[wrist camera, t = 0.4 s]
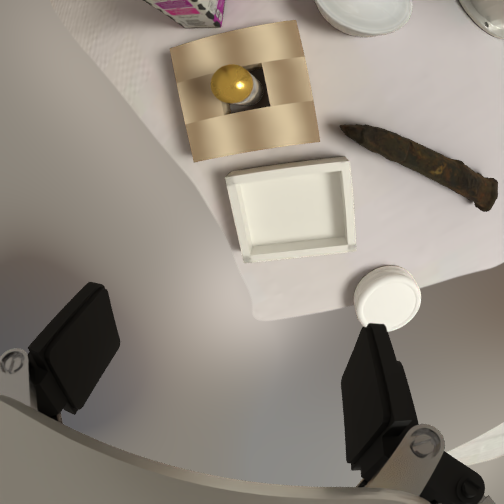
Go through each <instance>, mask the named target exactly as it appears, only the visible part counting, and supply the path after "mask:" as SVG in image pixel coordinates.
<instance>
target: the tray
mask: <svg viewBox="0 0 504 504" xmlns="http://www.w3.org/2000/svg"><path fill="white" fill-rule="evenodd" d="M225 180H226V185H227V190H228V194H229V199H230V203H231V208H232V212H233V217H234V221H235V226H236V230H237V235H238V239H239V244H240V248H241V253H242V257H243V261H244V263H253V262H262V261H272V260H282V259H291V258H300V257H310V256H319V255H328V254H337V253H346V252H355V251H356V232H355V215H354V201H353V189H352V178H351V168H350V161H349V160H348V159H347V158H346V157H345V156H344V157H333V158H324V159H315V160H307V161H299V162H291V163H283V164H276V165H269V166H263V167H256V168H250V169H244V170H238V171H232V172H230V173H229V174H228V175H227V176H226V177H225Z"/></svg>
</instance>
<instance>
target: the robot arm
mask: <svg viewBox="0 0 504 504" xmlns="http://www.w3.org/2000/svg"><path fill="white" fill-rule="evenodd" d="M459 2H460V3H461V5H462V7H463V8H464V10H465V11H466V12H467V14H468V15H469V16H470V17H471V18H472V20H473V21H474V22H475V23H476V24H477V25H478V26H479V27H480V28H482V29H483V30H484V31H486V32H487V33H489V34H490V35H492V36H494V37H496V38H499V39H504V0H459ZM119 346H120V338H119V335H118V331H117V327H116V324H115V320H114V316H113V312H112V308H111V304H110V299H109V295H108V291H107V290H106V289H105V287H104V286H103V285H102V284H98V283H93V282H89V283H87V284H86V285H85V286H84V287H83V288H82V289H81V290H80V291H79V292H78V293H77V294H76V295H75V296H74V297H73V299H71V301H70V302H69V303H68V304H67V305H66V306H65V307H64V308H63V309H62V310H61V311H60V312H59V313H58V314H57V315H56V317H55V318H54V319H53V320H52V321H51V322H50V323H49V324H48V325H47V326H46V327H45V329H44V330H43V331H42V332H41V333H40V334H39V335H38V336H37V338H36V339H35V340H34V341H33V342H32V343H31V344H30V346H29V347H28V349H29V351H30V352H29V354H28V355H27V353H26V352H25V351H24V350H22V349H19V348H16V349H11V350H8V351H6V352H5V353H4V354H3V355H2V356H1V357H0V504H495V503H494V501H493V500H492V499H491V498H490V496H489V495H488V496H487V497H485V496H484V491H485V485H484V481H483V479H482V477H481V476H480V475H479V474H478V473H476V472H475V471H473V470H472V469H470V468H469V467H467V466H466V465H464V464H463V463H461V462H460V461H458V460H457V459H455V458H454V457H452V456H451V455H449V454H448V453H446V452H445V451H444V449H445V441H444V438H443V435H442V434H441V433H440V431H439V430H437V429H436V428H435V427H433V426H430V425H427V424H420V425H419V424H418V420H417V416H416V412H415V408H414V404H413V400H412V397H411V393H410V389H409V386H408V382H407V379H406V375H405V372H404V369H403V366H402V364H401V362H400V361H397V360H396V357H395V354H394V350H393V347H392V344H391V341H390V338H389V335H388V332H387V328H386V326H385V325H384V324H376V323H369V324H368V325H367V327H363V328H362V329H361V332H360V334H359V337H358V340H357V342H356V345H355V347H354V350H353V352H352V355H351V357H350V360H349V362H348V364H347V367H346V369H345V371H344V374H343V376H342V380H341V389H342V400H343V412H344V426H345V441H346V460H347V463H351V470H361V477H362V478H363V479H362V480H361V481H360V483H359V484H358V485H357V486H356V487H307V486H290V485H277V484H266V483H257V482H250V481H243V480H236V479H230V478H224V477H218V476H213V475H209V474H204V473H199V472H195V471H190V470H186V469H182V468H178V467H175V466H171V465H167V464H163V463H160V462H157V461H153V460H150V459H147V458H144V457H141V456H138V455H135V454H132V453H129V452H127V451H124V450H121V449H119V448H116V447H113V446H111V445H108V444H106V443H103V442H100V441H98V440H96V439H94V438H91V437H89V436H87V435H85V434H82V433H80V432H78V431H76V430H74V429H72V428H70V427H68V426H65V425H64V424H63V422H62V417H61V411H62V409H64V410H66V411H68V412H70V413H72V414H74V415H75V414H76V412H77V411H78V409H81V408H82V407H83V406H84V404H85V402H86V401H87V399H88V397H89V396H90V394H91V392H92V391H93V389H94V387H95V386H96V384H97V382H98V381H99V379H100V378H101V376H102V374H103V373H104V371H105V369H106V368H107V366H108V365H109V363H110V361H111V360H112V358H113V357H114V355H115V354H116V352H117V350H118V349H119Z"/></svg>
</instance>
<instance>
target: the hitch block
mask: <svg viewBox="0 0 504 504" xmlns="http://www.w3.org/2000/svg"><path fill="white" fill-rule="evenodd" d="M170 53H171V58H172V63H173V68H174V73H175V78H176V83H177V88H178V93H179V97H180V102H181V107H182V111H183V116H184V121H185V125H186V130H187V134H188V139H189V143H190V147H191V152H192V156H193V160H194V162H198V161H203V160H208V159H213V158H218V157H223V156H228V155H234V154H239V153H245V152H251V151H257V150H263V149H269V148H276V147H283V146H290V145H298V144H305V143H314V142H320V137H319V131H318V125H317V119H316V113H315V107H314V101H313V96H312V91H311V85H310V80H309V75H308V70H307V66H306V61H305V56H304V52H303V47H302V43H301V39H300V34H299V30H298V26H297V22H296V20H291V21H283V22H276V23H270V24H264V25H258V26H253V27H248V28H243V29H238V30H234V31H229V32H225V33H221V34H217V35H213V36H209V37H206V38H202V39H199V40H195V41H192V42H189V43H185V44H182V45H179V46H176V47H173V48H170ZM229 64H235V65H239V66H241V67H243V68H245V69H246V70H247V71H252V70H258V69H263V72H264V76H265V81H266V86H267V91H268V96H269V101H270V107H264V108H259V109H253V110H248V111H242V112H237V113H232V114H231V109H230V104H229V103H225V102H222V101H220V100H219V99H217V98H216V97H215V96H214V94H213V93H212V90H211V79H212V76H213V74H214V73H215V72H216V71H217V70H218V69H219V68H221V67H223V66H225V65H229Z"/></svg>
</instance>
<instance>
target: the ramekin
mask: <svg viewBox="0 0 504 504" xmlns="http://www.w3.org/2000/svg"><path fill="white" fill-rule="evenodd" d="M314 1H315V3H316V5H317V7H318V9H319V11H320V13H321V14H322V15H323V17H324V18H325V19H326V20H327V22H329V23H330V24H331V25H332V26H333V27H335V28H336V29H338V30H340V31H342V32H344V33H346V34H349V35H353V36H358V37H373V36H380V35H386V34H390V33H393V32H395V31H397V30H398V29H400V28H401V27H403V26H404V25H405V24H406V22H407V21H408V20H409V19H410V16H411V13H412V0H314Z"/></svg>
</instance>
